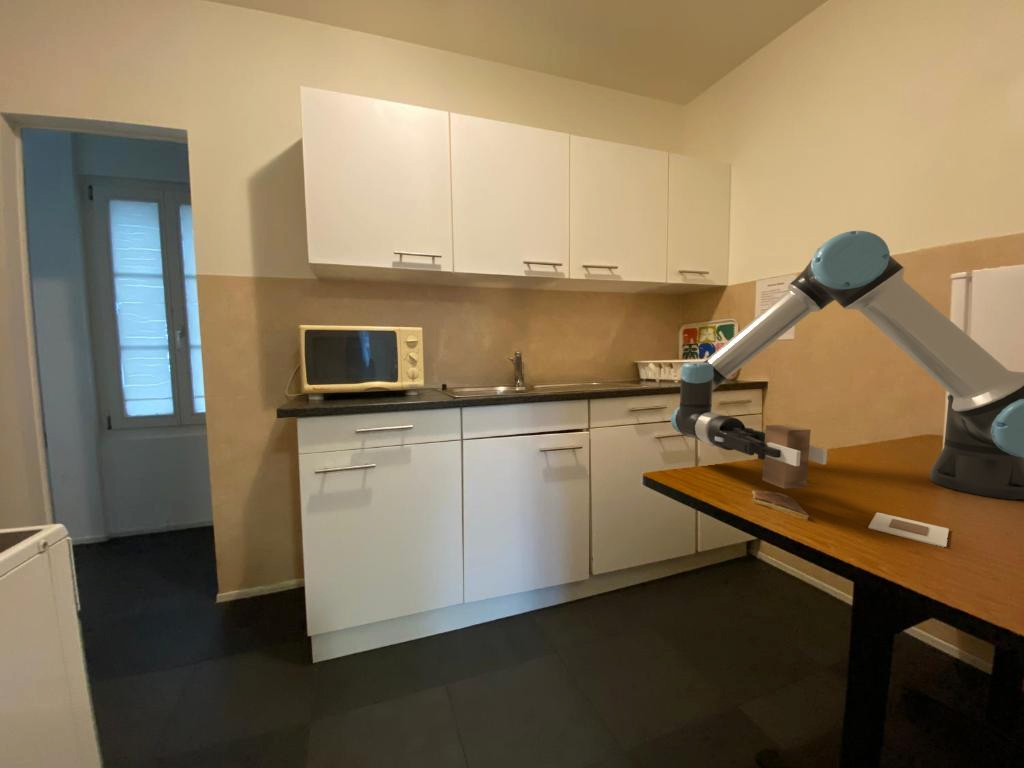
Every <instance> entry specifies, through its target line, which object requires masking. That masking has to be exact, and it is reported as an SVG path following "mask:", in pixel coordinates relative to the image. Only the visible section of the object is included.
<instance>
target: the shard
mask: <svg viewBox="0 0 1024 768" xmlns="http://www.w3.org/2000/svg"><path fill="white" fill-rule="evenodd" d="M751 493H752V495H753V497H752V498H751V503H752V502H753V503H752V504H755V505H759V506H763V507H766V508H769V509H771V508H772V510H775V511H777V512H780V513H783V514H786V515H788V516H791V517H795V518H799V519H801V520H805V521H809V517H810V514H808V513H807V512H806V510H804V509H803V508H802V507H801V505H800V504H799V503H798V502H797V501H795V499H793V498H792V497H791V496H790V495H786V494H783V493H779V492H776V491H775V492H774V491H766V490H765V491H763V490H752V491H751Z"/></svg>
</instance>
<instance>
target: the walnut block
mask: <svg viewBox="0 0 1024 768" xmlns="http://www.w3.org/2000/svg"><path fill="white" fill-rule="evenodd" d="M811 430H812V429H811V428H805V427H800V426H796V425H792V424H789V423H788V424H786V423H785V424H767V425H766V424H765V445H766V446H767V443H774V444H777V445H781V446H784V447H788V448H791V449H795V450H798V451H801V452H800V466H794V465H791V464H788V463H785V462H782V461H779V460H776V459H773V458H770V457H767V456H766V455H765V459H763V463H762V481H764V482H767V483H768V484H771V485H774V486H776V487H779V488H781V489H783V490H785V489H797V488H798V489H799V488H807V486H808V485H807V484H808V481H807V480H808V469H809V460H808V458H809V445H811V444H810V442H811Z"/></svg>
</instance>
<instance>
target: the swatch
mask: <svg viewBox="0 0 1024 768" xmlns="http://www.w3.org/2000/svg"><path fill="white" fill-rule="evenodd" d="M867 527H868V528H867V529H870V530H874V531H879V532H881V533H886V534H890V535H895V536H898V537H901V538H906V539H909V540H913V541H917V542H922V543H925V544H929V545H933V546H936V545H937V547H940V546H941V548H944V547H946V548H947V545H948V539H947V538H948V536H949V530H950V529H949V528H948V527H945V526H944V527H943V526H939V525H935V524H930V523H926V522H921V521H917V520H913V519H908V518H904V517H900V516H897V515H896V516H895V515H890V514H887V513H882V512H878V511H877V512H876V513H875V514H874V517H872V519H871V521H870V523H869V525H868V526H867Z"/></svg>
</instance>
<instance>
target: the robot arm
mask: <svg viewBox="0 0 1024 768" xmlns="http://www.w3.org/2000/svg"><path fill="white" fill-rule="evenodd" d="M905 269H906V268H905V267H904V266H903V265H902V264H900V263H899V262H898V261H897V260H896V259H895V258H893V256H891V255H890V250H889V247H888V244H887V243H886V242H885V240H884V239H883V238H881V237H880V236H879V235H877V234H875V233H872V232H870V231H866V230H850V231H845V232H842V233H839V234H837V235H834V236H832V238H830V239H829V240H827V241H824V242H823V244H822V245H821V246H819V248H817V250H815V253H813V256H812V258H811V260H810V261H809V263H808V264H807V265H806V266H805V268H804V269H803V270H802V271H801V273H800V274H799V275H797V277H796V278H795V279H793V280H792V281H791V282H790V283H788V285H787V290H786V292H785V293H784V294H782V295H781V296H780V297H779V298H777V299H776V300H775V301H774V302H773V303H772V304H771V305H770V306H769V305H768V307H767V308H765V309H764V310H763V311H762V312H761V313H760V314H759V315H757V316H756V317H755V318H754V319H753V320H751V321H750V322H749V323H748V324H747V325H745V327H743V328H742V329H741V330H740V331H739V332H737V333H736V334H735V335H734V336H732V338H730V339H729V340H728V341H726V343H724V344H723V345H722V346H721V347H719V349H717V350H716V351H715V352H713V354H711V355H710V356H709V357H708V358H707V359H706V360H704V361H703V362H685V363H683V364H682V366H681V373H680V375H679V377H680V395H679V398H680V399H679V400H680V401H679V406H678V407H677V408H676V409H675V410H673V413H672V414H671V416H670V423H671V427H673V430H675V431H676V432H677V433H679V434H682V435H683V436H685V437H688V438H691V439H695V440H697V441H701V442H702V443H703V442H704V443H707V444H709V446H710V447H714V446H715V447H717V448H720V449H723V450H726V451H733V450H735V451H737V452H739V453H743V454H745V455H748V456H754V455H757V459H758V460H764V459H765V455H766V456H767V457H770V458H773V459H776V460H779V461H782V462H785V463H788V464H791V465H794V466H800V452H801V451H798V450H795V449H791V448H788V447H784V446H781V445H777V444H774V443H767V446H766V445H765V430H763V431H760V430H755V429H754V428H751V427H746V425H745V424H744V422H743V421H741V419H739V418H736V417H732V416H727V415H723V414H721V413H716V412H712V405H713V391H714V390H715V389H717V388H718V387H719V386H720V385H721V384H722V383H724V382H725V381H726V380H728V379H729V378H730V377H731V376H732V375H734V374H735V373H736V372H737V371H739V370H740V369H741V368H743V367H744V366H745V365H746V364H748V363H749V362H750V361H751V360H753V359H754V358H755V357H757V355H759V354H760V353H762V352H763V351H764V350H766V348H768V347H769V346H771V345H772V344H773V343H774V342H775V341H777V340H778V339H779V338H780V337H781V336H783V335H784V334H786V333H788V331H790V330H791V329H792V328H794V326H796V325H798V323H800V322H801V321H802V320H803V319H804V318H806V317H807V316H808V315H810V314H811V313H813V312H815V313H816V312H820V311H821V310H823V309H824V308H826V307H827V306H828V305H830V304H831V303H832V302H834V301H835V302H837V304H839V306H841V307H842V308H843V309H844V310H856V311H859V312H860V313H861V314H862V315H864V316H865V318H867V319H868V320H869V321H870V322H871V323H872V324H873V325H874V326H875V327H877V328H878V329H879V330H880V332H882V333H883V334H884V335H885V336H886V337H888V339H890V340H891V341H892V342H893V343H894V344H895V345H896V346H897V347H898V348H899V349H901V350H902V351H903V352H904V353H905V354H906V355H907V356H908V357H909V358H910V359H911V360H912V361H914V363H916V364H917V365H919V367H920V368H921V369H923V371H924V372H926V373H927V374H928V375H929V376H930V377H931V378H932V380H933V379H934V381H936V382H937V384H938V385H940V386H941V387H942V388H943V389H944V390H945V391H946V392H947V393H948V395H947V401H948V402H947V412H946V422H945V432H944V441H943V442H944V443H943V448H942V450H941V452H940V454H939V455H938V457H937V458H936V460H935V462H934V463H933V465H932V467H931V468H930V473H929V480H930V481H931V482H933V483H934V484H936V485H938V486H939V485H940V486H942V487H944V488H948V489H950V490H951V489H952V490H954V491H955V490H956V491H959V492H963V493H968V494H972V495H978V496H984V497H990V498H997V499H1006V500H1016V499H1024V372H1023V371H1013V370H1012V371H1011V370H1009V369H1007V368H1006V367H1005V366H1004V365H1003V364H1002V363H1001V362H999V361H998V360H997V359H996V358H995V357H993V356H992V354H990V353H989V352H988V351H987V350H985V349H984V348H983V347H982V346H981V345H980V344H978V342H976V341H975V340H973V338H971V336H969V334H967V333H966V332H964V330H963V329H961V328H960V327H958V325H957V324H955V322H953V321H952V320H951V319H949V318H948V317H947V316H946V315H945V314H943V312H941V311H940V310H939V309H938V308H936V307H935V306H934V305H933V304H932V303H931V302H930V301H928V300H927V299H926V298H925V297H924V296H922V295H921V294H920V293H919V292H918V291H917V290H916V289H914V288H913V287H912V286H911V285H910V284H908V283H907V282H906V281H905V280H904V275H905V274H904V273H905ZM827 460H828V449H826V448H823V447H819V446H815V445H811V444H810V445H809V458H808V462H813V463H817V464H820V465H827Z"/></svg>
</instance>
